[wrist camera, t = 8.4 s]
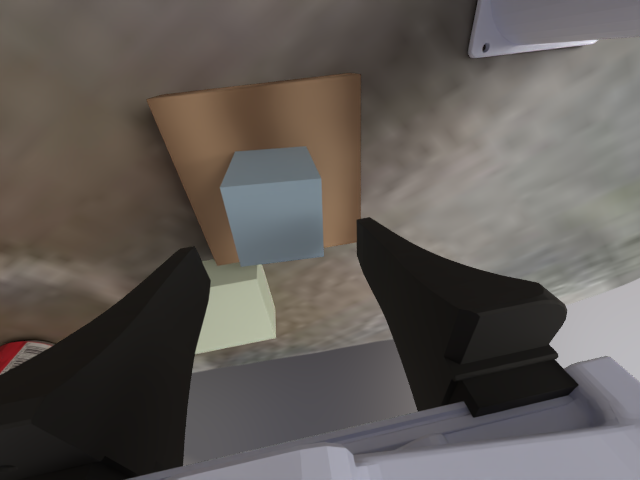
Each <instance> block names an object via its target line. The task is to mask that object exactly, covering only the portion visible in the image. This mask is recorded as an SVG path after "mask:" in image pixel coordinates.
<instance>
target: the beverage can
mask: <svg viewBox="0 0 640 480" xmlns="http://www.w3.org/2000/svg"><path fill="white" fill-rule="evenodd" d="M53 345H55V344H53V343H49V342H45V341H36V340H31V341H20V342H12V343H7V344H5V345H2V346H0V375H1V374H3V373H5V372H7V371H9V370H10V369H12V368H14V367H16V366H18V365H20V364H22V363H23V362H25V361H27V360H29V359H31V358H32V357H34V356H36V355H38V354H40V353H41V352H43V351H45V350H46V349H48V348H50V347H52V346H53Z"/></svg>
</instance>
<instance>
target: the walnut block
mask: <svg viewBox="0 0 640 480" xmlns="http://www.w3.org/2000/svg"><path fill="white" fill-rule="evenodd" d="M146 100H147V102H148V105H149V107H150V109H151V112H152V114H153V116H154V119H155V121H156V123H157V126H158V128H159V130H160V133H161V135H162V137H163V140H164V142H165V144H166V147H167V149H168V152H169V154H170V156H171V159H172V161H173V163H174V166H175V168H176V170H177V173H178V175H179V177H180V180H181V182H182V184H183V187H184V189H185V191H186V194H187V196H188V199H189V201H190V203H191V206H192V208H193V210H194V213H195V215H196V217H197V220H198V222H199V224H200V227H201V229H202V231H203V234H204V236H205V238H206V241H207V243H208V246H209V248H210V250H211V253H212V255H213V257H214V260H215V262H216V264H217V266H220V265H226V264H232V263H238V262H239V258H238V254H237V250H236V247H235V243H234V239H233V235H232V231H231V228H230V224H229V220H228V216H227V213H226V209H225V205H224V201H223V198H222V194H221V190H220V186H221V184H222V181H223V179H224V177H225V174H226V172H227V169H228V167H229V165H230V162H231V160H232V158H233V155H234V153H235V152H236V151H249V150H263V149H276V148H289V147H303V146H306V147H307V149H308V151H309V153H310V156H311V158H312V160H313V162H314V164H315V166H316V168H317V170H318V172H319V174H320V177H321V182H322V215H323V247H324V248H325V247H331V246H337V245H343V244H349V243H355V242H357V219H361V74H355V73H345V74H337V75H328V76H319V77H311V78H302V79H294V80H285V81H276V82H268V83H259V84H250V85H242V86H233V87H225V88H216V89H207V90H199V91H190V92H182V93H173V94H164V95H159V96H156V97H152V98H149V99H146Z"/></svg>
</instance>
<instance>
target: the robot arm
mask: <svg viewBox="0 0 640 480" xmlns="http://www.w3.org/2000/svg"><path fill="white" fill-rule="evenodd" d="M627 37H640V0H478V2H477V8H476V13H475V18H474V23H473V28H472V33H471V38H470V44H469V49H468V54H469V56H470V57H471V58H481V57H489V56H498V55H506V54H514V53H523V52H531V51H539V50H548V49H556V48H565V47H573V46H581V45H590V44H593V43H595V42H596V41H597V40H600V39H613V38H627ZM484 44H485V45H486V48H485V50H484V51H482V47H483V45H484ZM357 257H358V260H359V263H360V266H361V268H362V271H363V274H364V276H365V278H366V280H367V282H368V284H369V286H370V288H371V290H372V292H373V294H374V296H375V297H376V299H377V301H378V303H379V305H380V307H381V309H382V311H383V314H384V316H385V318H386V320H387V323H388V326H389V328H390V331H391V334H392V336H393V339H394V342H395V344H396V347H397V350H398V353H399V355H400V358H401V361H402V364H403V367H404V370H405V373H406V376H407V379H408V382H409V385H410V388H411V391H412V394H413V397H414V400H415V404H416V407H417V410H418V412H415V413H410V414H406V415H402V416H397V417H393V418H389V419H384V420H380V421H376V422H371V423H367V424H363V425H358V426H354V427H350V428H346V429H341V430H337V431H332V432H328V433H324V434H320V435H316V436H311V437H307V438H302V439H298V440H294V441H290V442H285V443H281V444H276V445H272V446H268V447H263V448H259V449H255V450H250V451H246V452H242V453H237V454H233V455H229V456H224V457H220V458H216V459H212V460H207V461H203V462H198V463H195V464H190V465H186V466H183V456H184V440H185V427H186V417H187V416H186V415H187V406H188V398H189V390H190V381H191V375H192V368H193V362H194V356H195V351H196V347H197V343H198V340H199V336H200V332H201V328H202V325H203V321H204V317H205V313H206V310H207V306H208V302H209V294H210V284H211V280H210V278H209V276H208V274H207V271H206V269H205V267H204V265H203V263H202V261H201V259H200V257H199V254H198V252H197V250H196V248H195V246H194V247H188V248H182V249H179V250H178V251H177V252H176V253H174V254H173V255H172V256H171V257H170V258H169V259H167V260H166V261H165V262H164V263H163V264H162V265H161V266H160V267H159V268H157V269H156V270H155V271H154V272H153V273H152V274H151V275H150V276H149V277H147V278H146V279H145V280H144V281H143V282H142V283H141V284H139V285H138V286H137V287H136V288H135V289H133V290H132V291H131V292H130V293H129V294H127V295H126V296H125V297H124V298H123V299H121V300H120V301H119V302H117V303H116V304H115V305H114V306H112V307H111V308H110V309H108V310H107V311H105V312H104V313H103V314H101V315H100V316H98V317H97V318H96V319H94V320H93V321H91V322H90V323H88V324H87V325H85V326H84V327H82V328H80V329H79V330H77V331H76V332H74V333H73V334H71V335H69V336H68V337H66V338H65V339H63V340H62V341H60V342H58V343H57V344H55V345H53V346H52V347H50V348H48V349H46V350H45V351H43V352H41V353H40V354H38V355H36V356H34V357H32V358H31V359H29V360H27V361H25V362H23V363H22V364H20V365H18V366H16V367H14V368H12V369H10V370H9V371H7V372H5V373H3V374H1V375H0V480H640V382H639V381H638V380H637V379H635V378H634V377H633V376H632V375H631V374H630V373H628V372H627V371H626V370H625V369H624V368H623V367H622V366H620V365H619V364H618V363H617V362H616V361H615V360H613V359H612V358H611V357H608V356H605V357H600V358H596V359H591V360H587V361H582V362H578V363H575V364H572V365H570V366H568V367H566V368H565V369H563V368H562V367H561V366H560V365H559V364H558V363H557V362H556V361H555V359H557V358H558V354H557V352H556V351H555V350H554V349H553V348H552V347H551V346H550V345H549V343H550V342H551V340H552V339H553V337H554V336H555V334H556V333H557V332H558V330H559V329H560V328H561V326H562V325H563V323H564V321H565V320H566V315H567V309H566V306H565V304H564V303H562V302H561V301H560V300H559V299H558V298H556V297H555V296H554V295H553V294H551V293H550V292H549V291H548V290H547V289H545V288H544V287H543V286H542V285H540V284H539V283H536V282H532V281H527V280H522V279H517V278H512V277H507V276H502V275H498V274H494V273H490V272H486V271H483V270H479V269H476V268H472V267H469V266H466V265H463V264H460V263H457V262H454V261H451V260H448V259H446V258H443V257H441V256H438V255H436V254H434V253H431V252H429V251H427V250H425V249H423V248H421V247H419V246H417V245H415V244H413V243H411V242H409V241H407V240H406V239H404V238H402V237H400V236H399V235H397V234H395V233H394V232H392V231H390V230H389V229H387V228H386V227H384V226H383V225H381V224H379V223H378V222H376V221H375V220H373V219H371V218H370V217H369V218H363V219H357Z"/></svg>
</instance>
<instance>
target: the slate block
mask: <svg viewBox="0 0 640 480" xmlns="http://www.w3.org/2000/svg"><path fill="white" fill-rule="evenodd" d="M220 190H221V194H222V198H223V201H224V205H225V209H226V213H227V216H228V220H229V224H230V228H231V231H232V235H233V239H234V243H235V247H236V250H237V254H238V258H239V262H240V265H241V267H245V266H252V265H260V264H268V263H276V262H284V261H292V260H300V259H308V258H316V257H324V247H323V215H322V182H321V177H320V174H319V172H318V170H317V168H316V166H315V164H314V162H313V160H312V158H311V156H310V153H309V151H308V149H307V147H306V146H303V147H289V148H276V149H263V150H249V151H236V152H235V153H234V155H233V158H232V160H231V162H230V165H229V167H228V169H227V172H226V174H225V177H224V179H223V181H222V184H221V186H220Z"/></svg>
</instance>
